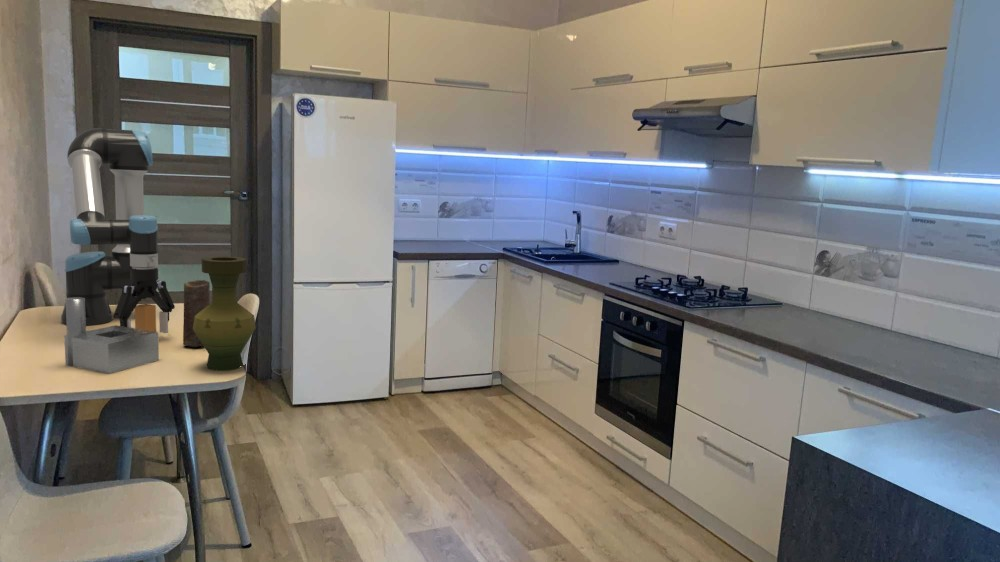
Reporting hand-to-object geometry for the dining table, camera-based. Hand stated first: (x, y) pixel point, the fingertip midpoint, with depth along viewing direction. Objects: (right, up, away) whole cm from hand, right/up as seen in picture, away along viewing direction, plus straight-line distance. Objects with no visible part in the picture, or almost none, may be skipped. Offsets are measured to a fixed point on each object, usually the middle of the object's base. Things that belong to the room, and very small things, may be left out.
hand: (145, 336), depth 217 cm
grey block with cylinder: (+1, -5, -20) cm, 21 cm away
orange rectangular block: (0, -2, 0) cm, 2 cm away
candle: (+15, -3, +1) cm, 15 cm away
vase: (+31, -7, -18) cm, 37 cm away
